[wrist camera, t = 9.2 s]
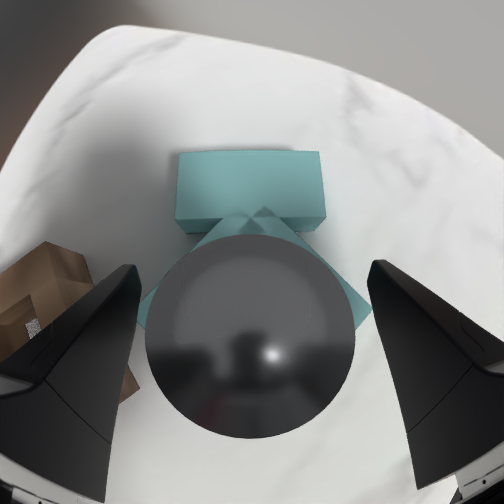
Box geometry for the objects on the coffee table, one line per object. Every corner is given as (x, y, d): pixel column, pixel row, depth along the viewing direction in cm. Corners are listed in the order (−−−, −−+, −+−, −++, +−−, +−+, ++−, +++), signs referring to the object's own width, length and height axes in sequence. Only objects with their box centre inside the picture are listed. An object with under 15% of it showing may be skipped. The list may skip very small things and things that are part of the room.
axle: (292, 309, 17) (392, 319, 5) (255, 354, 17) (265, 470, 4) (246, 272, 18) (234, 193, 5) (209, 318, 17) (108, 349, 5)
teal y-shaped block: (354, 331, 17) (373, 334, 14) (148, 335, 17) (130, 340, 14) (342, 174, 19) (356, 154, 16) (154, 176, 19) (140, 156, 16)
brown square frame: (140, 388, 16) (111, 409, 12) (46, 421, 15) (12, 438, 11) (83, 255, 18) (45, 241, 13) (2, 308, 17) (-36, 305, 12)
